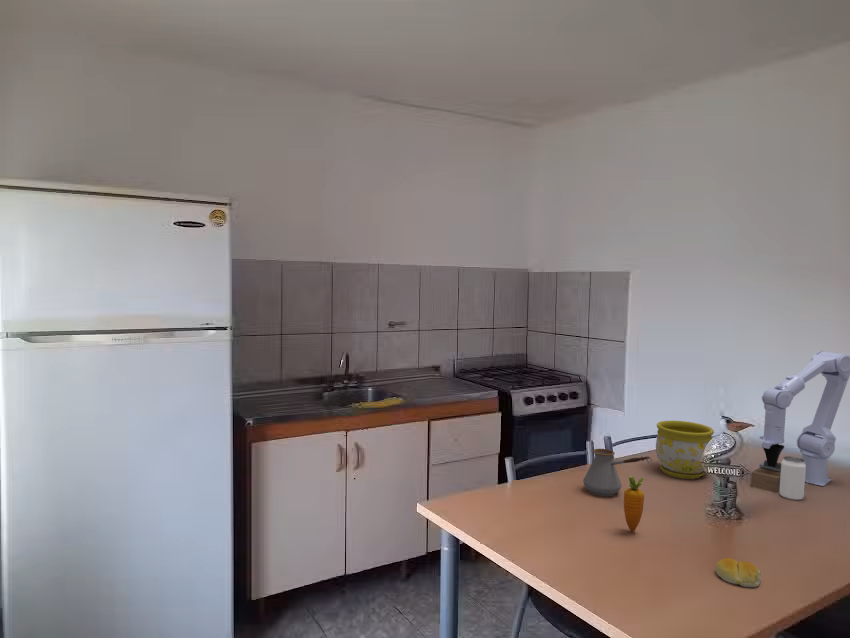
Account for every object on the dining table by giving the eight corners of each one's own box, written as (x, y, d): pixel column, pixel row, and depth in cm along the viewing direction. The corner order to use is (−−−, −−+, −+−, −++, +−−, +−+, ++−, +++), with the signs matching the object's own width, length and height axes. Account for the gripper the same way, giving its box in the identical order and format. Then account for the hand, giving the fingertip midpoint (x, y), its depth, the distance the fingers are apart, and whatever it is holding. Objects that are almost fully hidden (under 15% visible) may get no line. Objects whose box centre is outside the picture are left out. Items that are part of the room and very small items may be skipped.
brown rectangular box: (766, 476, 204) (767, 463, 204) (791, 482, 199) (792, 469, 199) (750, 485, 195) (751, 471, 194) (776, 492, 189) (777, 478, 189)
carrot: (641, 529, 157) (644, 474, 156) (642, 537, 153) (645, 480, 152) (622, 526, 159) (625, 471, 158) (621, 534, 154) (624, 477, 153)
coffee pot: (575, 490, 186) (577, 443, 185) (596, 483, 193) (598, 437, 192) (637, 512, 169) (640, 460, 168) (658, 503, 177) (661, 453, 176)
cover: (766, 462, 204) (767, 456, 204) (791, 468, 198) (792, 461, 198) (759, 466, 199) (759, 460, 199) (784, 472, 193) (785, 465, 193)
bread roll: (717, 565, 139) (718, 549, 139) (761, 577, 134) (762, 559, 134) (712, 580, 132) (713, 563, 132) (758, 592, 127) (760, 574, 127)
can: (796, 493, 188) (799, 456, 188) (807, 501, 182) (810, 462, 181) (775, 492, 189) (777, 455, 188) (785, 499, 183) (788, 461, 182)
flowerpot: (650, 463, 216) (652, 418, 215) (703, 467, 212) (706, 422, 211) (659, 479, 198) (662, 430, 197) (717, 484, 195) (720, 435, 194)
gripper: (768, 420, 203) (765, 459, 204) (753, 426, 193) (750, 467, 194) (792, 424, 197) (789, 464, 198) (777, 430, 188) (774, 472, 189)
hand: (771, 466), depth 196 cm, fingers closed
